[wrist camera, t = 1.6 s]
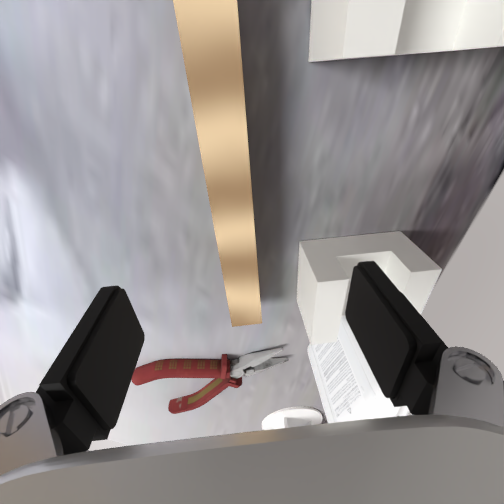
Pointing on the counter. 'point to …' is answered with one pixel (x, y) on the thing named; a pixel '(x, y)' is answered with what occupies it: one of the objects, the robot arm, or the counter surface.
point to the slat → (223, 143)
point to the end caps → (376, 45)
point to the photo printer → (348, 381)
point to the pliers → (206, 374)
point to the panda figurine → (292, 418)
